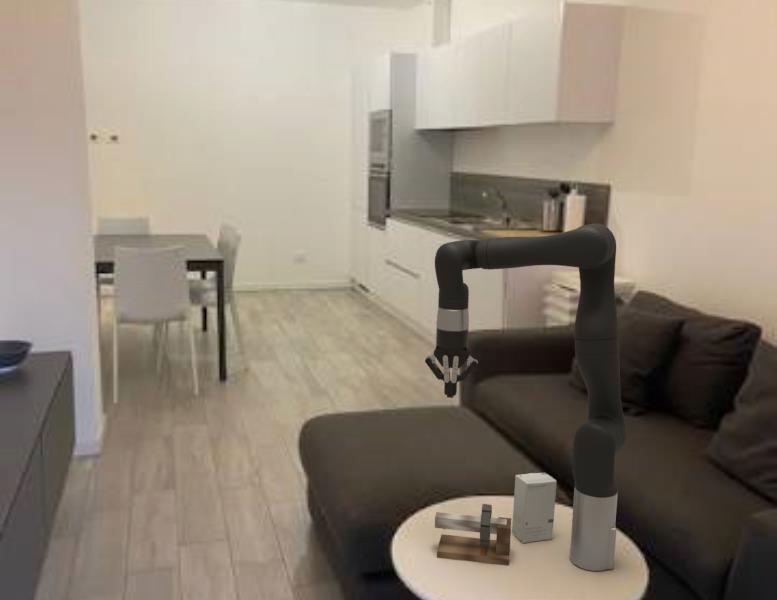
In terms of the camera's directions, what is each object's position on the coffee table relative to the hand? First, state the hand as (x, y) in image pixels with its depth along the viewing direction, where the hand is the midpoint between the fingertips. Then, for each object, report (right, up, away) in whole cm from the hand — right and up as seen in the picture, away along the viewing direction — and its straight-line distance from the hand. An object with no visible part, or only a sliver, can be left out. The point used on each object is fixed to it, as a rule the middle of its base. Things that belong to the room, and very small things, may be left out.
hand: (450, 396), depth 185 cm
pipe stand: (+5, -34, -9) cm, 36 cm away
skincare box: (+20, -33, -1) cm, 39 cm away
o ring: (+7, -32, -10) cm, 34 cm away
